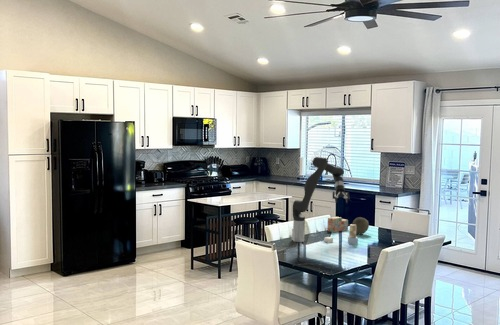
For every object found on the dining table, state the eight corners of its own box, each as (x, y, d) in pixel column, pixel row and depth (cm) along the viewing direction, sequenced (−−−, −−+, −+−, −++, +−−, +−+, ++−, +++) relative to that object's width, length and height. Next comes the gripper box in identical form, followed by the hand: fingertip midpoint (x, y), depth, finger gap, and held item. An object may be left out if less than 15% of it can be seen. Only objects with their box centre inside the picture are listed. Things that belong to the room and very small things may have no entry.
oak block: (350, 237, 384) (351, 225, 383) (349, 236, 388) (349, 224, 388) (355, 237, 384) (356, 225, 383) (354, 236, 388) (355, 224, 388)
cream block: (324, 241, 389) (324, 237, 389) (328, 241, 392) (328, 236, 392) (328, 242, 385) (328, 238, 385) (332, 242, 388) (333, 238, 388)
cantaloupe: (360, 236, 413) (361, 219, 412) (348, 233, 424) (349, 216, 424) (371, 235, 420) (372, 218, 419) (359, 232, 432) (360, 215, 431)
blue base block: (348, 244, 383) (349, 238, 383) (347, 242, 390) (348, 236, 390) (357, 244, 382) (357, 238, 382) (356, 242, 389) (356, 236, 389)
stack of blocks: (342, 228, 447) (343, 215, 446) (348, 229, 442) (348, 216, 441) (327, 231, 433) (327, 217, 433) (332, 232, 429) (332, 218, 428)
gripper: (332, 184, 409) (334, 199, 398) (348, 184, 409) (351, 199, 398) (330, 189, 415) (332, 204, 404) (347, 190, 415) (349, 205, 404)
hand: (341, 202), depth 401 cm, fingers open, 8 cm apart
